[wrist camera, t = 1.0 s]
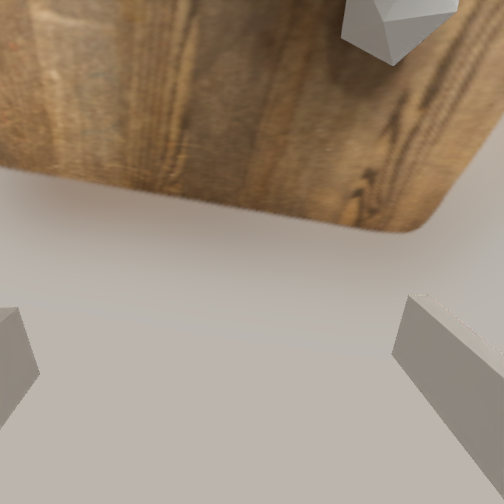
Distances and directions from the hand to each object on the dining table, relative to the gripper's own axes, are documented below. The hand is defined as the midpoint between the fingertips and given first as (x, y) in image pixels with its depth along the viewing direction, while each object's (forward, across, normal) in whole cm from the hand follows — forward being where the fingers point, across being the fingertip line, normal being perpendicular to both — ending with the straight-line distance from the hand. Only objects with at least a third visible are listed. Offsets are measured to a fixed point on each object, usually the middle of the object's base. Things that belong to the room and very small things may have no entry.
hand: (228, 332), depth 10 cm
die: (+22, +14, +18) cm, 32 cm away
